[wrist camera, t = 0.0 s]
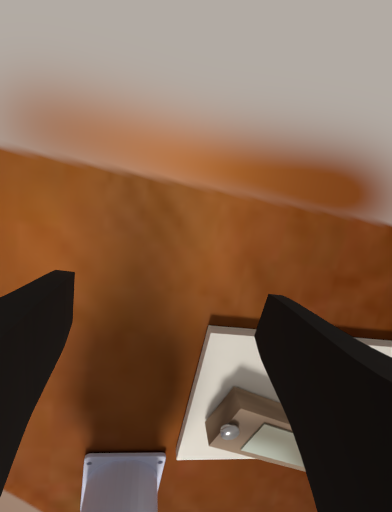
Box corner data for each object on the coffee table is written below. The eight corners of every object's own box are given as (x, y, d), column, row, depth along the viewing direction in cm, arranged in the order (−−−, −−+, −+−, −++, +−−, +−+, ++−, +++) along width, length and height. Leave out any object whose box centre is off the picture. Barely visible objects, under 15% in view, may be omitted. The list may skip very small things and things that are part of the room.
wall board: (340, 448, 33) (346, 457, 32) (175, 450, 29) (176, 461, 28) (403, 341, 27) (412, 349, 26) (208, 325, 23) (210, 333, 22)
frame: (316, 455, 31) (329, 481, 29) (201, 421, 26) (206, 449, 24) (346, 426, 30) (362, 451, 27) (231, 385, 25) (239, 411, 23)
